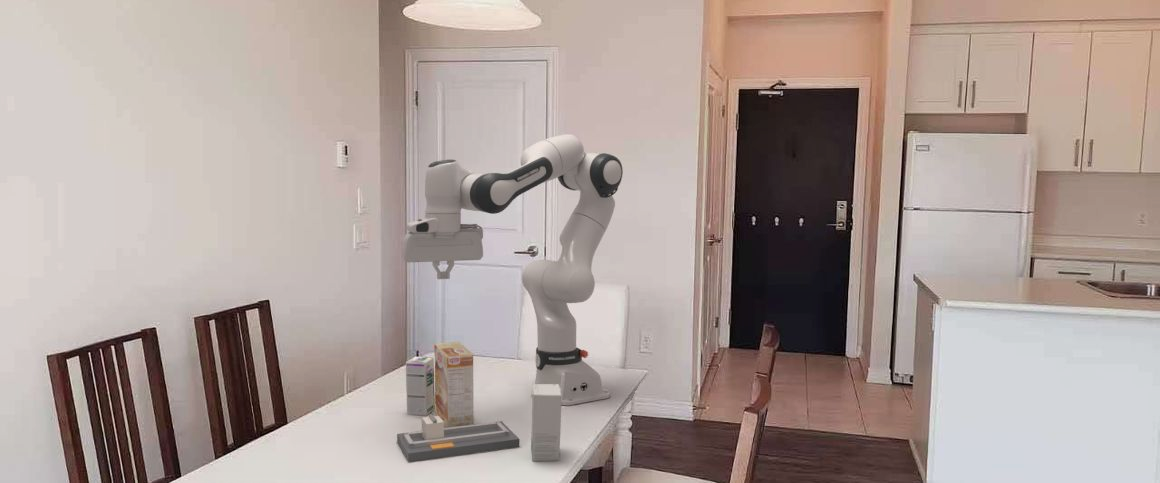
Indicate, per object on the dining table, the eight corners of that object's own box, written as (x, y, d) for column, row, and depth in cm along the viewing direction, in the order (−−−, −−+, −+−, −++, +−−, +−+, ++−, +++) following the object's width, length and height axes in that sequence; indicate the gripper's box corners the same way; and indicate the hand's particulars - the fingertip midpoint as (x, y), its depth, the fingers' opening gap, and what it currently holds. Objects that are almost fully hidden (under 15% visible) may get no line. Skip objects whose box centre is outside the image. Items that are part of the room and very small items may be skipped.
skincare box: (531, 448, 185) (531, 383, 184) (559, 448, 186) (559, 383, 184) (531, 462, 177) (532, 393, 175) (561, 461, 177) (562, 393, 176)
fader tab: (438, 434, 188) (438, 413, 187) (443, 440, 183) (443, 419, 183) (422, 436, 186) (421, 415, 186) (426, 443, 182) (426, 421, 181)
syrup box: (426, 416, 209) (426, 362, 207) (405, 414, 210) (405, 360, 208) (435, 409, 214) (434, 357, 213) (414, 408, 215) (414, 355, 214)
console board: (501, 428, 199) (501, 417, 199) (519, 447, 186) (519, 434, 186) (397, 441, 189) (396, 429, 188) (408, 462, 176) (408, 449, 176)
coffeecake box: (434, 415, 209) (433, 343, 207) (460, 413, 211) (460, 341, 210) (446, 433, 195) (445, 355, 193) (474, 430, 198) (474, 353, 196)
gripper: (479, 222, 206) (479, 275, 208) (400, 224, 198) (401, 278, 200) (486, 224, 201) (486, 278, 202) (405, 226, 193) (405, 282, 194)
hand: (443, 278), depth 201 cm, fingers closed
